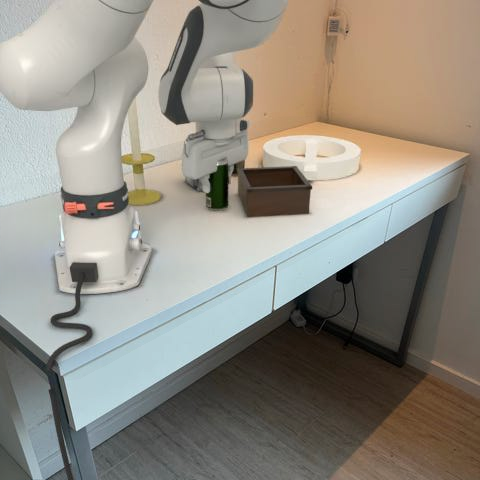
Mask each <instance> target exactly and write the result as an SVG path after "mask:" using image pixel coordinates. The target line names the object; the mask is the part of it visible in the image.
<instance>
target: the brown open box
mask: <svg viewBox="0 0 480 480" xmlns="http://www.w3.org/2000/svg"><path fill="white" fill-rule="evenodd" d="M237 172H238V176H237V196H238V198H239V201H240V203H241V205H242V209H243V210H244V213H245V216H246V217H247V218H255V217H256V218H258V217H273V216H293V215H296V216H297V215H309V214H310V202H311V192H312V190H313V184H311V183H310V181H309V180H307V179H306V178H305V177H304V175H303V174H302V173H301V171H300V170H299V169H298V167H297V166H286V167H264V166H263V167H244V168H237Z"/></svg>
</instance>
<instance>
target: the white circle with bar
mask: <svg viewBox="0 0 480 480" xmlns="http://www.w3.org/2000/svg"><path fill="white" fill-rule="evenodd" d="M361 155H362V149H361V148H360V146H359V145H357V144H356V143H353V142H351V141H349V140H346V139H342V138H338V137H332V136H325V135H310V134H307V135H306V134H305V135H304V134H302V135H301V134H300V135H299V134H297V135H288V136H279V137H276V138H273V139H270V140H268V141H267V142H265V143H263V146H262V166H263V167H286V166H297V167H298V169H299V170H300V171H301V173H302V174H303V175H304V177H305V178H306V179H307V180H308V181H329V180H337V179H343V178H347V177H350V176H352V175H354V174H356V173H357V172H358V171H359V167H360V161H361ZM318 156H320V157H318Z"/></svg>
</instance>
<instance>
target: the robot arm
mask: <svg viewBox="0 0 480 480" xmlns="http://www.w3.org/2000/svg"><path fill="white" fill-rule="evenodd" d="M198 1H199V2H200V3H199V4H198V5H196V6H195V7H193V8H192V9H191V10H190V11H189V12H188V14H187V16H186V17H185V20H184V22H183V25H182V26H181V30H180V32H179V35H178V38H177V40H176V43H175V46H174V49H173V51H172V55H171V57H170V60H169V63H168V65H167V67H166V69H165V71H164V72H163V74H162V76H161V77H160V80H159V85H158V90H157V91H158V92H157V97H158V98H157V99H158V104H159V108H160V112H161V114H162V116H164V117H165V118H166V119H167V120H168V121H170V122H171V123H173V124H174V125H176V126H180V125H181V126H182V125H186V124H187V125H188V124H191V123H195V132H194V133H193V132H192V133H189V134H188V135H187V137H186V139H184V140H185V141H183V147H182V153H181V174H182V175H183V177H184V178H185V177H186V178H190V179H198V178H199V180H200V181H201V183H202V184H203V191H202V192H203V193H205V194H206V193H209V192H211V191H212V190H213V189H212V187H213V185H212V184H210V183H209V180H208V179H209V178H210V174H211V173H213V172H216V171H217V164H218V160H221V159H223V158H224V159H225V158H226V157H227V160H228V185H229V184H231V177H232V176H231V174H232V172H233V169H234V164H236V163H238V162H241V161H243V160H245V161H246V160H247V158H248V156H249V149H250V147H249V146H250V135H249V131H248V130H249V129H250V120H249V119H247V118H245V117H246V116H247V114H249V112H250V111H251V109H252V108H253V106H254V80H253V78H252V77H251V76H250V75H249V74H248V72H246V70H244V69H243V68H240V67H238V65H237V64H236V60H235V54H234V53H235V52H240V51H245V50H250V49H254V48H257V47H259V46H261V45H263V44H264V43H266V41H268V40H269V39H270V37H271V36H272V35H273V34H274V33H275V32H276V30H278V27H279V26H280V24H281V21H282V20H283V17H284V14H285V12H286V9H287V6H288V4H289V0H198ZM153 2H154V0H53V2H52V3H51V4H50V5H49V6H48V8H47V9H46V10H44V11H43V12H42V14H41V15H40V16H38V18H37V19H36V20H35V21H34V22H33V23H32V24H30V25H29V26H28V27H27V28H25V29H24V30H22V31H21V32H20V33H18V34H16V35H15V36H12V37H11V38H9V39H6V40H4V41H3V42H1V43H0V92H1V94H2V95H3V98H5V99H6V101H8V103H10V104H11V105H12V106H13V107H15V108H16V109H18V110H22V111H32V112H54V111H55V112H56V111H61V110H66V109H73V108H77V110H76V113H75V116H74V119H73V120H72V122H71V125H69V127H67V128H66V130H64V131H63V132H62V133H61V134H60V136H58V138H57V140H56V146H55V156H56V160H57V165H58V172H59V176H60V182H61V187H60V201H61V203H62V204H61V205H62V210H63V211H62V212H61V213H60V214H59V215H58V219H59V224H60V233H61V234H60V235H61V240H60V241H59V243H58V244H59V248H60V249H58V250H56V251H55V252H54V261H55V262H54V263H55V269H56V275H57V284H58V289H59V291H60V292H63V293H66V294H74V301H75V305H74V308H72V309H70V310H68V311H65V312H59V313H56V314H53V315H52V316H51V317H50V323H51V325H52V326H54V327H56V328H61V329H63V328H64V329H77V330H78V329H79V330H84V331H85V332H86V334H85V335H83V336H80V337H79V338H76V339H74V340H71V341H69V342H66V343H64V344H63V345H61V346H59V347H57V348H56V349H55V350H54V351H53V352H52V354H51V355H50V356H49V358H48V360H47V362H46V366H45V371H46V372H49V371H51V370H52V369H53V365H54V363H55V361H56V359H57V358H58V357H59V356H61V354H62V353H64V352H66V351H68V350H69V349H72V348H74V347H76V346H78V345H81V344H83V343H85V342H87V341H89V339H91V337H92V336H93V329H92V327H91V326H89V325H88V324H84V323H77V322H63V321H58V320H60V319H65V318H69V317H72V316H74V315H76V314H77V313H78V312H79V311H80V309H81V304H82V303H81V295H93V294H94V295H97V294H109V293H115V292H117V293H118V292H122V291H126V290H130V289H133V288H135V287H138V286H139V285H140V284H141V280H142V278H143V277H144V276H143V275H144V273H145V271H146V268H147V267H148V264H149V261H150V259H151V256H152V254H153V247H152V246H151V244H147V243H144V242H143V239H142V231H141V223H140V218H139V217H140V216H139V212H138V211H137V209H135V208H134V207H132V205H130V204H128V203H129V198H128V195H129V194H128V192H129V188H128V185H127V182H126V181H125V179H124V168H123V163H122V156H123V154H122V137H123V136H122V135H123V130H124V125H125V121H126V118H127V116H128V110H129V108H130V106H131V104H132V102H133V100H134V99H135V98H136V97H137V96H138V95H139V93H141V92H142V91H143V89H144V88H145V86H146V83H147V80H148V77H149V60H148V56H147V54H146V51H145V48H144V47H143V45H142V43H141V42H140V40H139V39H138V38H137V37H136V35H137V33H138V31H139V29H140V27H141V25H142V24H143V22H144V20H145V18H146V16H147V14H148V13H149V10H150V8H151V6H152V4H153ZM56 393H57V392H56V389H55V387H52V388H50V389H48V394H49V398H50V404H51V410H52V416H53V421H54V427H55V431H56V436H57V442H58V446H59V451H60V454H61V460H62V463H63V467H64V471H65V474H66V477H67V480H74V476H73V472H72V468H71V464H70V460H69V457H68V452H67V451H68V450H67V447H66V443H65V438H64V433H63V429H62V423H61V417H60V411H59V405H58V399H57V394H56Z"/></svg>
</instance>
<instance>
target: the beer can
mask: <svg viewBox="0 0 480 480" xmlns="http://www.w3.org/2000/svg"><path fill="white" fill-rule="evenodd" d="M208 180H209V183H210V184H212V185H213V187H212V189H213V190H212V191H211V192H209V193H205V206H206V209H207V210H208V211H211V212H215V213H216V212H217V213H219V212H224V211H227V209H228V207H229V184H228V160H227V157H226V158H225V159H224V158H223V159H221V160H218V164H217V171H216V172H213V173H211V174H210V178H209V179H208Z"/></svg>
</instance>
